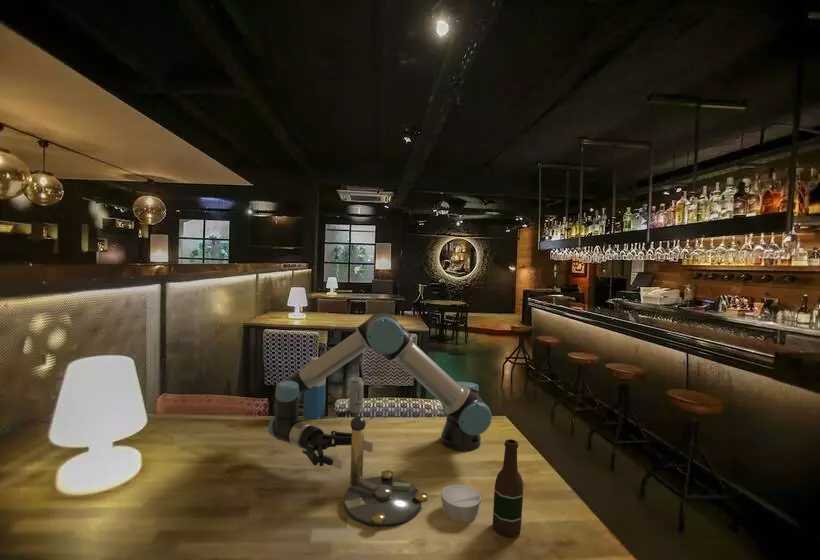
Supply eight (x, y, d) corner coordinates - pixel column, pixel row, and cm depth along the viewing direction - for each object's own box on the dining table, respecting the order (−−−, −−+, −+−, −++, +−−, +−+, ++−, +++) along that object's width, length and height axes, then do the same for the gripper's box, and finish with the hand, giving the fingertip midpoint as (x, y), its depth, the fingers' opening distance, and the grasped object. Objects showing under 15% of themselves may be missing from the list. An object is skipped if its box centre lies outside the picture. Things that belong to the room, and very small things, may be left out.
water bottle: (329, 413, 193) (330, 357, 191) (317, 420, 184) (319, 362, 182) (310, 410, 196) (311, 354, 194) (298, 417, 187) (300, 359, 185)
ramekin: (469, 530, 115) (470, 511, 115) (432, 515, 121) (433, 497, 121) (486, 510, 125) (487, 492, 125) (451, 497, 131) (451, 480, 130)
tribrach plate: (427, 482, 138) (428, 472, 138) (426, 535, 113) (427, 523, 113) (352, 477, 140) (353, 468, 139) (334, 528, 114) (335, 516, 114)
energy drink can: (356, 415, 192) (357, 381, 191) (346, 411, 195) (347, 378, 194) (365, 411, 197) (366, 378, 196) (355, 408, 200) (356, 375, 199)
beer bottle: (488, 520, 120) (492, 435, 118) (516, 519, 121) (521, 435, 119) (496, 539, 112) (501, 448, 111) (526, 538, 113) (531, 448, 111)
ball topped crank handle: (395, 494, 127) (397, 424, 125) (384, 502, 123) (387, 430, 121) (355, 478, 135) (358, 412, 133) (345, 485, 131) (347, 417, 129)
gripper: (333, 435, 153) (382, 452, 141) (275, 463, 132) (327, 486, 120) (334, 414, 152) (383, 430, 141) (276, 438, 131) (328, 459, 120)
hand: (357, 455), depth 130 cm, fingers open, 13 cm apart
